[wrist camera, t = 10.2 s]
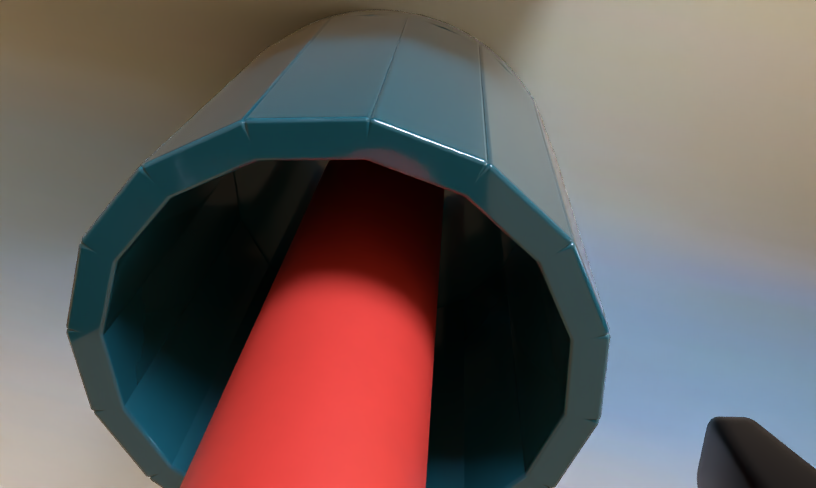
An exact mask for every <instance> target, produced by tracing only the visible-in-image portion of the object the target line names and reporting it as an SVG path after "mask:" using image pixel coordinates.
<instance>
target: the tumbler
mask: <svg viewBox="0 0 816 488" xmlns="http://www.w3.org/2000/svg"><path fill="white" fill-rule="evenodd" d="M330 160H367V161H370V162H373V163H375V164H378V165H381V166H384V167H386V168H389V169H392V170H394V171H397V172H400V173H402V174H405V175H408V176H410V177H413V178H416V179H419V180H421V181H424V182H427V183H429V184H432V185H435V186H437V187H440V188H443V189H444V204H443V220H442V236H441V252H440V268H439V284H438V300H437V316H436V332H435V348H434V364H433V380H432V396H431V412H430V427H429V443H428V459H427V475H426V488H554V487H556V485H557V484H558V482H559V481H560V479H561V478H562V476H563V475H564V473H565V472H566V470H567V469H568V467H569V466H570V464H571V463H572V461H573V460H574V459H575V457H576V456H577V454H578V453H579V451H580V450H581V448H582V447H583V445H584V444H585V442H586V441H587V439H588V438H589V436H590V435H591V433H592V432H593V430H594V429H595V428H596V426H597V425H598V422H599V419H600V417H601V412H602V404H603V395H604V387H605V378H606V370H607V361H608V353H609V344H610V334H609V326H608V322H607V319H606V316H605V313H604V310H603V306H602V303H601V300H600V297H599V293H598V290H597V287H596V284H595V281H594V277H593V274H592V271H591V268H590V264H589V261H588V258H587V255H586V252H585V248H584V245H583V242H582V239H581V235H580V232H579V229H578V226H577V223H576V219H575V216H574V213H573V210H572V206H571V203H570V200H569V197H568V194H567V190H566V187H565V184H564V181H563V177H562V174H561V171H560V168H559V164H558V161H557V158H556V155H555V153H554V150H553V147H552V145H551V142H550V140H549V137H548V134H547V132H546V129H545V126H544V123H543V120H542V117H541V115H540V113H539V111H538V108H537V106H536V103H535V101H534V98H533V97H532V96H531V94H530V92H529V91H528V90H527V89H526V87H525V86H524V84H523V83H522V81H521V80H520V78H519V77H518V76H517V75H516V74H515V73H514V71H513V70H512V69H511V68H510V67H509V66H508V65H507V63H506V62H505V61H504V60H503V59H501V58H500V57H499V56H498V55H497V54H496V53H494V52H493V51H492V50H491V49H490V48H489V47H488V46H486V45H485V44H483V43H482V42H480V41H479V40H477V39H476V38H474V37H473V36H471V35H469V34H468V33H466V32H464V31H462V30H460V29H458V28H456V27H454V26H452V25H449V24H447V23H445V22H442V21H439V20H436V19H433V18H430V17H427V16H424V15H419V14H414V13H408V12H403V11H394V10H364V11H354V12H347V13H343V14H339V15H335V16H330V17H326V18H324V19H321V20H319V21H316V22H314V23H311V24H308V25H306V26H304V27H302V28H300V29H298V30H297V31H295V32H293V33H291V34H290V35H288V36H286V37H284V38H283V39H282V40H281V41H279V42H277V43H275V44H273V45H271V46H269V47H268V48H267V49H265V50H264V51H263V52H261V53H260V54H259V55H258V56H257V57H256V58H255V59H254V60H253V61H252V62H251V63H250V64H249V65H248V66H246V67H245V68H244V69H243V70H242V71H241V72H240V73H239V74H238V75H237V76H236V77H235V78H234V79H233V80H231V81H230V82H229V83H228V84H227V85H226V86H225V87H224V88H223V89H222V90H221V91H220V92H219V93H218V94H216V95H215V96H214V97H213V98H212V99H211V100H210V101H209V102H208V103H207V104H206V105H205V106H204V107H203V108H201V109H200V110H199V111H198V112H197V113H196V114H195V115H194V116H193V117H192V118H191V119H190V120H189V121H188V122H186V123H185V124H184V125H183V126H182V127H181V128H180V129H179V130H178V131H177V132H176V133H175V134H174V135H172V136H171V137H170V138H169V139H168V140H167V141H166V142H165V143H164V144H163V145H162V146H161V147H160V148H159V149H157V150H156V151H155V152H154V153H153V154H152V155H151V156H150V157H149V158H148V159H147V160H146V161H145V162H144V163H142V164H141V165H140V166H139V167H138V168H137V169H136V171H135V172H134V173H133V175H132V176H131V177H130V178H129V180H128V181H127V182H126V183H125V185H124V186H123V187H122V188H121V190H120V191H119V192H118V193H117V195H116V196H115V197H114V198H113V200H112V201H111V202H110V203H109V205H108V206H107V207H106V209H105V210H104V211H103V212H102V214H101V215H100V216H99V217H98V219H97V220H96V221H95V222H94V224H93V225H92V226H91V227H90V229H89V230H88V231H87V232H86V234H85V235H84V236H83V237H82V241H81V243H80V245H79V250H78V256H77V263H76V269H75V275H74V282H73V288H72V294H71V300H70V307H69V313H68V319H67V335H68V339H69V342H70V345H71V348H72V351H73V354H74V357H75V360H76V363H77V366H78V369H79V372H80V376H81V379H82V382H83V385H84V388H85V391H86V394H87V397H88V400H89V403H90V406H91V409H92V410H94V413H95V415H96V416H97V417H98V418H99V420H100V421H101V422H102V423H103V424H104V426H105V427H106V428H107V429H108V430H109V432H110V433H111V434H112V435H113V436H114V438H115V439H116V440H117V441H118V442H119V444H120V445H121V446H122V447H123V449H124V450H125V451H126V452H127V453H128V455H129V456H130V457H131V458H132V459H133V461H134V462H135V463H136V464H137V465H138V467H139V468H140V469H141V470H142V471H143V473H144V474H145V475H146V476H148V477H150V479H151V480H152V481H153V482H155V483H156V484H158V485H160V486H161V487H163V488H180V486H181V484H182V481H183V479H184V477H185V475H186V473H187V470H188V468H189V466H190V464H191V462H192V459H193V457H194V455H195V453H196V451H197V449H198V446H199V444H200V442H201V440H202V438H203V435H204V433H205V431H206V429H207V427H208V424H209V422H210V420H211V418H212V416H213V413H214V411H215V409H216V407H217V405H218V403H219V400H220V398H221V396H222V394H223V392H224V389H225V387H226V385H227V383H228V381H229V378H230V376H231V374H232V372H233V370H234V367H235V365H236V363H237V361H238V359H239V357H240V354H241V352H242V350H243V348H244V346H245V343H246V341H247V339H248V337H249V335H250V332H251V330H252V328H253V326H254V324H255V321H256V319H257V317H258V315H259V313H260V311H261V308H262V306H263V304H264V302H265V300H266V297H267V295H268V293H269V291H270V289H271V286H272V284H273V282H274V280H275V278H276V275H277V273H278V271H279V269H280V267H281V265H282V262H283V260H284V258H285V256H286V254H287V251H288V249H289V247H290V245H291V243H292V240H293V238H294V236H295V234H296V232H297V229H298V227H299V225H300V223H301V221H302V219H303V216H304V214H305V212H306V210H307V208H308V205H309V203H310V201H311V199H312V197H313V194H314V192H315V190H316V188H317V186H318V184H319V181H320V179H321V177H322V175H323V173H324V170H325V168H326V166H327V164H328V162H329V161H330Z"/></svg>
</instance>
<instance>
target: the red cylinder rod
mask: <svg viewBox="0 0 816 488" xmlns="http://www.w3.org/2000/svg"><path fill="white" fill-rule="evenodd" d="M443 204H444V189H443V188H440V187H437V186H435V185H432V184H429V183H427V182H424V181H421V180H419V179H416V178H413V177H410V176H408V175H405V174H402V173H400V172H397V171H394V170H392V169H389V168H386V167H384V166H381V165H378V164H375V163H373V162H370V161H367V160H330V161H329V162H328V164H327V166H326V168H325V170H324V173H323V175H322V177H321V179H320V181H319V184H318V186H317V188H316V190H315V192H314V194H313V197H312V199H311V201H310V203H309V205H308V208H307V210H306V212H305V214H304V216H303V219H302V221H301V223H300V225H299V227H298V229H297V232H296V234H295V236H294V238H293V240H292V243H291V245H290V247H289V249H288V251H287V254H286V256H285V258H284V260H283V262H282V265H281V267H280V269H279V271H278V273H277V275H276V278H275V280H274V282H273V284H272V286H271V289H270V291H269V293H268V295H267V297H266V300H265V302H264V304H263V306H262V308H261V311H260V313H259V315H258V317H257V319H256V321H255V324H254V326H253V328H252V330H251V332H250V335H249V337H248V339H247V341H246V343H245V346H244V348H243V350H242V352H241V354H240V357H239V359H238V361H237V363H236V365H235V367H234V370H233V372H232V374H231V376H230V378H229V381H228V383H227V385H226V387H225V389H224V392H223V394H222V396H221V398H220V400H219V403H218V405H217V407H216V409H215V411H214V413H213V416H212V418H211V420H210V422H209V424H208V427H207V429H206V431H205V433H204V435H203V438H202V440H201V442H200V444H199V446H198V449H197V451H196V453H195V455H194V457H193V459H192V462H191V464H190V466H189V468H188V470H187V473H186V475H185V477H184V479H183V481H182V484H181V486H180V488H426V475H427V459H428V443H429V427H430V412H431V396H432V380H433V364H434V348H435V332H436V316H437V300H438V284H439V268H440V252H441V236H442V220H443Z"/></svg>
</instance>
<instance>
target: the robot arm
mask: <svg viewBox="0 0 816 488" xmlns="http://www.w3.org/2000/svg"><path fill="white" fill-rule="evenodd" d="M697 485H698V488H816V469H815V468H814V467H812V466H811V465H810V464H809V463H807V462H806V461H805V460H803V459H802V458H801V457H800V456H798V455H797V454H796V453H795V452H793V451H792V450H791V449H790V448H788V447H787V446H786V445H785V444H783V443H782V442H781V441H780V440H778V439H777V438H776V437H775V436H773V435H772V434H771V433H769V432H768V431H767V430H766V429H764V428H763V427H762V426H761V425H759V424H758V423H757V422H755V421H754V420H752V419H750V418H746V417H715V418H713V419H711V420H710V422H709V423H708V425H707V429H706V433H705V438H704V443H703V447H702V452H701V457H700V461H699V466H698V472H697Z"/></svg>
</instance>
